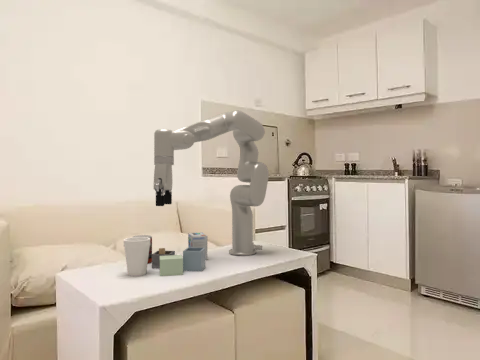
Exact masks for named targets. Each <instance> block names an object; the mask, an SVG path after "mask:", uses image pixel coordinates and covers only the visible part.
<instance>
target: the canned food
mask: <svg viewBox="0 0 480 360" xmlns="http://www.w3.org/2000/svg"><path fill="white" fill-rule="evenodd" d="M132 237H148V238H150V248H149V256H148V264H152V254H153V236H152V235H148V234H147V235H146V234H141V235H140V234H139V235H134V236H132Z"/></svg>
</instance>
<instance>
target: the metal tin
mask: <svg viewBox="0 0 480 360" xmlns="http://www.w3.org/2000/svg"><path fill="white" fill-rule="evenodd" d="M168 255H176V252H175V250H165V254H159V250H156V251H155V252H152V262H151V269H160V256H168Z"/></svg>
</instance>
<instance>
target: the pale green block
mask: <svg viewBox="0 0 480 360" xmlns="http://www.w3.org/2000/svg"><path fill="white" fill-rule="evenodd" d="M183 275H184V271H183V254H175V255H168V256H160V268H159V277H168V276H183Z"/></svg>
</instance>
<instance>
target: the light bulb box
mask: <svg viewBox="0 0 480 360" xmlns="http://www.w3.org/2000/svg"><path fill="white" fill-rule="evenodd" d="M187 234H188V235H187V236H188V239H187V240H188V241H187V242H188V243H187V244H188V246H187V248H188V247H191V248H205V261H208V242H209V241H208V238H209V237H208V236H209V235H207V234H206V233H204V232H201V231H200V232H189V233H187Z"/></svg>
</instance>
